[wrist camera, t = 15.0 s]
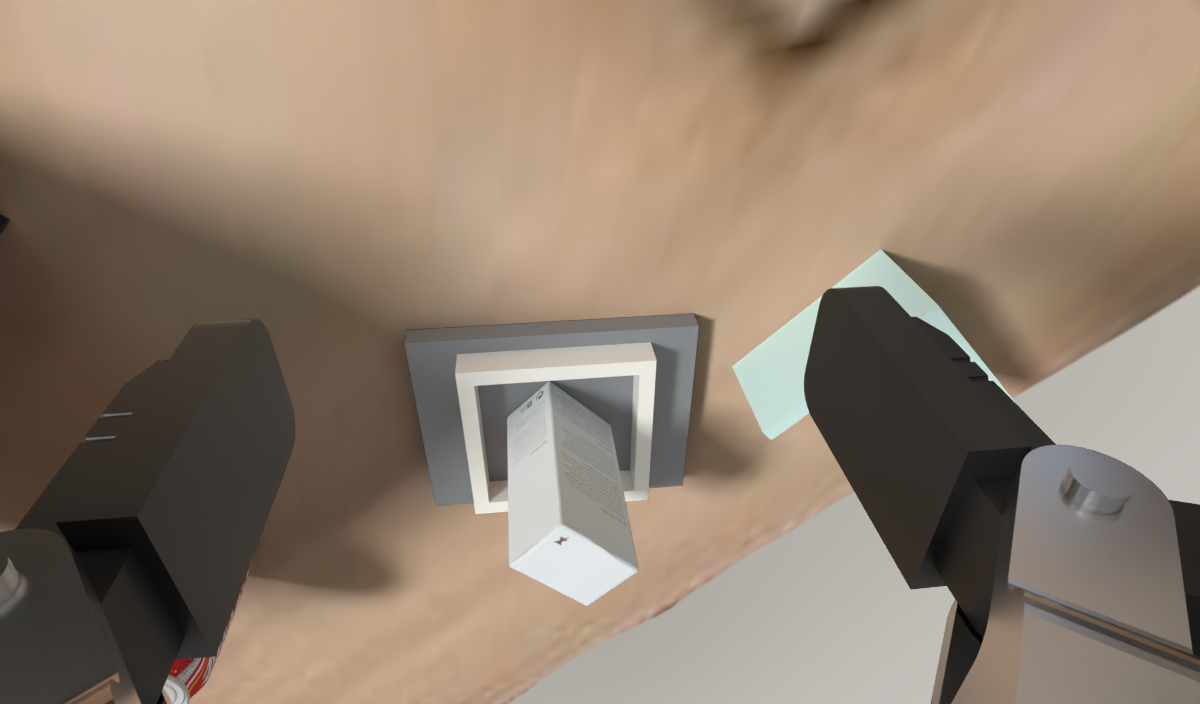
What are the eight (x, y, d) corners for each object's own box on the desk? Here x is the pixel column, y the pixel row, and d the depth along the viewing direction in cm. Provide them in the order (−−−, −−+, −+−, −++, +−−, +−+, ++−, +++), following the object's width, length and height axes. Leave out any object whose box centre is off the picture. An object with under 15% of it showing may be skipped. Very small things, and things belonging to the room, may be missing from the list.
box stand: (693, 313, 44) (706, 343, 41) (678, 471, 52) (688, 505, 49) (407, 330, 42) (400, 362, 39) (437, 490, 50) (433, 527, 47)
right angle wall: (729, 361, 47) (763, 433, 41) (876, 244, 43) (937, 304, 37) (822, 444, 53) (864, 518, 47) (960, 348, 49) (1025, 415, 43)
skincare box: (504, 417, 45) (504, 566, 35) (549, 377, 43) (561, 522, 34) (570, 460, 48) (586, 610, 38) (614, 425, 46) (643, 570, 36)
